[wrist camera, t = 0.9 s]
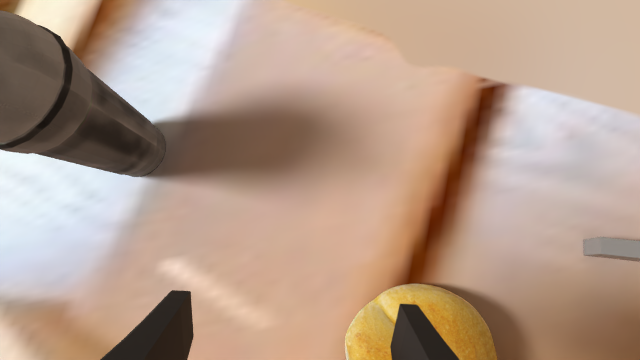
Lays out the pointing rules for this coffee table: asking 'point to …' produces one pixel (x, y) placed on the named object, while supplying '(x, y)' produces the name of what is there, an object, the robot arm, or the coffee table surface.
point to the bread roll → (441, 310)
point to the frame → (612, 248)
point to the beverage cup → (67, 106)
